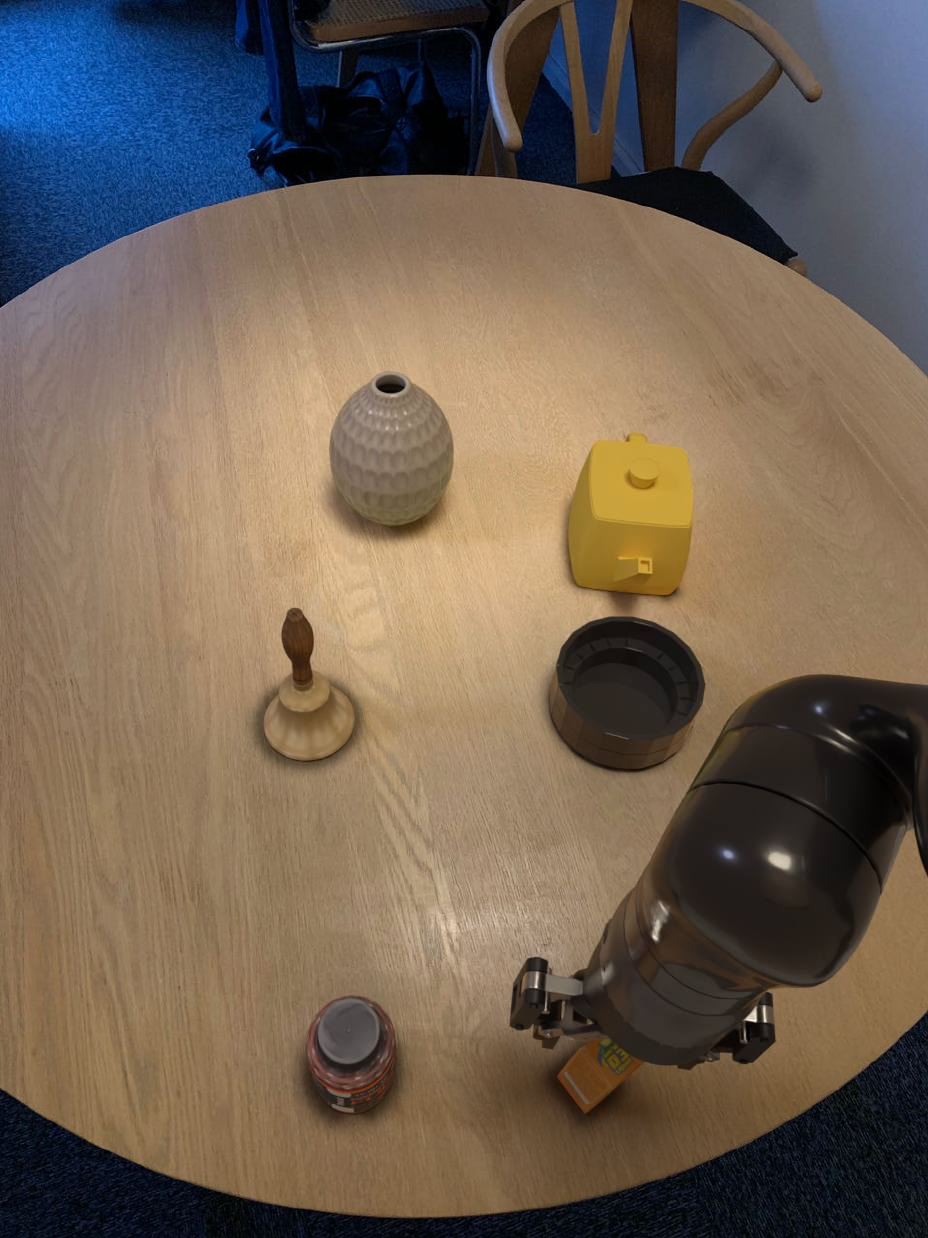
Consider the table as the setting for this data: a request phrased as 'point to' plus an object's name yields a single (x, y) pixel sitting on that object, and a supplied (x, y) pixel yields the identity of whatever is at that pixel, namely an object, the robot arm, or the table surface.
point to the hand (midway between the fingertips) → (615, 1042)
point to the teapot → (632, 517)
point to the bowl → (626, 691)
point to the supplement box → (596, 1072)
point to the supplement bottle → (352, 1053)
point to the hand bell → (306, 702)
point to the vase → (391, 450)
